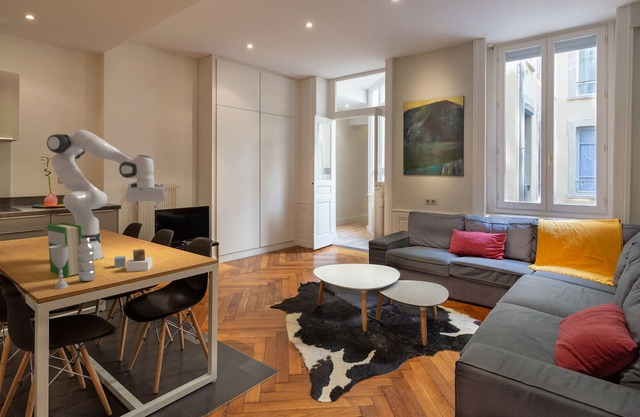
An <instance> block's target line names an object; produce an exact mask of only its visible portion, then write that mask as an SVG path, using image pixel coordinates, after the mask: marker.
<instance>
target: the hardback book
mask: <svg viewBox="0 0 640 417" xmlns="http://www.w3.org/2000/svg"><path fill="white" fill-rule="evenodd" d="M47 237H48V239H47V240H48V253H49V254H48V255H49V267H50V269H49V272H50V273H53V274H54V275H58V276H59V275H60V274H59V268H58V267H56V266H55V265H54V263H53V261H52V260H51V252H50V248H49V247H50V246H55V245H69V247H68V259H67V262H66V264H65V266H64V267H62V271H63V272H62V275H63V278H66V279H68V278H70V276H75V275H79V266H80V263H79V262H80V261H79V256H78V251H77V250H78V247H79V246H80V244H81V242H80V238H82V227H81V226H80V225H76V223H75V224H74V223H68V222H57V223H48V224H47Z"/></svg>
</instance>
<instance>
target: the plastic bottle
mask: <svg viewBox="0 0 640 417" xmlns="http://www.w3.org/2000/svg"><path fill="white" fill-rule="evenodd" d="M80 242H81V244H80V246H79V247H78V250H77V251H78V256H79V261H80V262H79V263H80V266H79V274H77V275H78V280H79V281H81V282H90V281H93V280H95V278H96V271H95V266H94V260H93V256H94V247H93V246H92V244H91V243H90V237H83V238H80Z"/></svg>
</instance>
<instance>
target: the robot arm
mask: <svg viewBox="0 0 640 417" xmlns="http://www.w3.org/2000/svg"><path fill="white" fill-rule="evenodd" d="M46 145H47V146H46V147H47V148H48V150H49V151H51V152H53V153H54V154H55V155H54V156H52V158H51V161H50V162H51V166H52V167H53V170H54V172H55V174H56V175H57V177H58V178H59V180H60V181H61V184H62V185H63V186H64V187H65V188H66V189H67V190H69V191H71V192H68V193H66V194H65V195H64V196H63V199H62V202H63V206H64V207H65V209H67V210H69V211H70V213H71V214H72V216H73V218H74V221H75V225H80V226H81V227H82V238H83V237H90V243H91V244H92V246H93V247H94V256H93V261H95V260H100V259H102V258H104V257H105V256H104V253H103V250H102V245H101V241H102V240H101V238H102V237H101V232H100V221H99V218H98V217H95V216H94V215H93V211H92V210H96V209H101V208H102V207H104V206H106V205H107V204H108V200H109V199H108V196H107V193H105V192H104V191H102V190H100V189H98V188H97V187H96V186H94V184H93V183H91V182H90V181H89V180H88V179H87V178H86V177H85V175H84V174H83V173H82V171H81V169H80V168H79V165H77V163H76V161H75V160H79V159H80V158H81V156H83V155H84V154H85V153H87V155H89V156H92V157H94V158H96V159H100V160H108V161H112V162H116V163H118V164H119V166H118V172H119V174H120V175H121V177H122V178H124V179H136V181H134V182H130V183H128V184H127V187H128V188H127V190H126V192H125V193H126V195H125V200H126V201H127V202H132V203H133V205H134V206H135V211H136V210H139V208H140V206H139V205H137V202H156V204H155V205H154V210H157V209H158V206H159V204H160V201H161V202H163V201H164V202H165V201H166V198H167V196H166V191H167V187H166V185H164V184H155V177H154V176H155V175H154V174H155V173H154V172H155V168H154V167H155V164H154V160H153V158H152V157H151V156H148V155H143V154H137V155H136V156H135V157H134V158H133V157H131V156H130V155H127V154H126V153H124V152H123V151H121V150H119V149H118V148H116V147H115V146H113V145H111V144H110V143H109V142H107V141H105V139H103V138H101V137H100V136H98V135H96V134H95V133H93V132H91V131H88V130H86V129H79V130H77V131H75V132H74V133H73V135H68V134H63V133H58V134H57V133H55V134H51V135H50V136H48V138H47V140H46Z"/></svg>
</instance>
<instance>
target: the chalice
mask: <svg viewBox="0 0 640 417" xmlns="http://www.w3.org/2000/svg"><path fill="white" fill-rule="evenodd" d="M68 247H69V245H55V246H50V247H49V246H48V249H49V248H50V252H51V260H52V261H53V263H54V265H55V266H56V267H58V268H59V274H60V275H58V276H57V277H58V278H59V281H58V282H56V284H55V287H54V289H55V290H62V289H67V288H68V287H69V285H68V283H67V281H65V280H64V279H63V278H64V277H63V275H62V272H63V271H62V267H64V266H65V264H66V262H67V259H68Z"/></svg>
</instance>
